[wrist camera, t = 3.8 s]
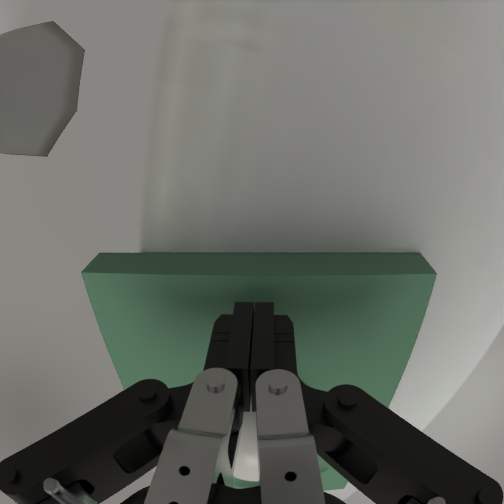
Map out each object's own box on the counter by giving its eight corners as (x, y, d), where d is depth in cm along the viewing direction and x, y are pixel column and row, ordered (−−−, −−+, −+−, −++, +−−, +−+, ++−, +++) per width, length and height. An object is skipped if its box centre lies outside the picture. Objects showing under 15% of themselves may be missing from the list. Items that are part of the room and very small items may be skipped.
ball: (207, 368, 15) (191, 451, 11) (307, 369, 15) (315, 455, 11) (217, 420, 18) (207, 490, 13) (299, 422, 17) (302, 493, 13)
